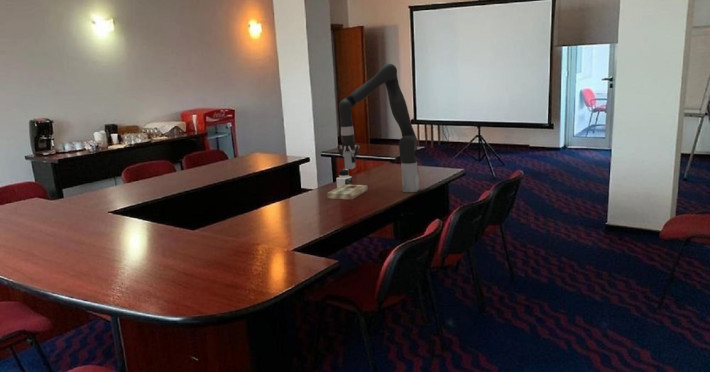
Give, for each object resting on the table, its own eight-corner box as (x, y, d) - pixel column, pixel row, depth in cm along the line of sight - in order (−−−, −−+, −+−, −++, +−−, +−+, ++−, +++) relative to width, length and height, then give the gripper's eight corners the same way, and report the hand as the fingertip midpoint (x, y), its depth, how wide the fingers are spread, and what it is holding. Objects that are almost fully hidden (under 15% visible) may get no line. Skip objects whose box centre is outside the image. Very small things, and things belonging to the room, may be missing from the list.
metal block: (355, 167, 335) (354, 150, 333) (352, 169, 331) (350, 152, 329) (348, 167, 337) (347, 150, 335) (345, 168, 333) (343, 152, 331)
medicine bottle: (345, 190, 347) (344, 171, 344) (336, 189, 351) (335, 170, 348) (352, 187, 352) (351, 168, 350) (344, 186, 357) (342, 168, 354)
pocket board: (367, 191, 339) (367, 184, 338) (352, 201, 320) (352, 193, 319) (343, 190, 346) (343, 184, 345) (327, 199, 326) (326, 192, 325)
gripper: (361, 132, 330) (363, 161, 333) (339, 133, 336) (341, 161, 339) (356, 134, 323) (358, 164, 327) (333, 135, 329) (336, 163, 333)
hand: (349, 162), depth 333 cm, fingers closed on metal block, 4 cm apart
